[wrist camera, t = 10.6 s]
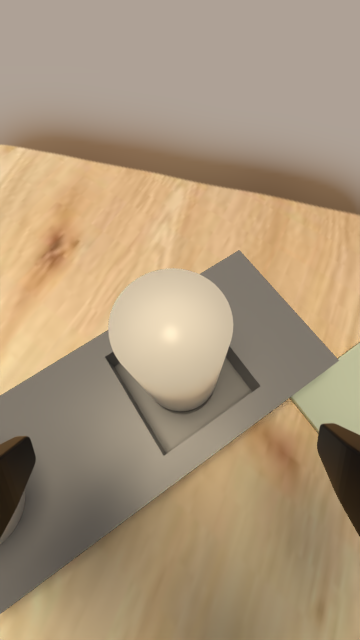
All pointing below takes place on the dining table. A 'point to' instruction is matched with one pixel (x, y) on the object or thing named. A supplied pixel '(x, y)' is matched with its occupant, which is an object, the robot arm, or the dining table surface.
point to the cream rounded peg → (172, 336)
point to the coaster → (334, 394)
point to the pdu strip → (138, 427)
